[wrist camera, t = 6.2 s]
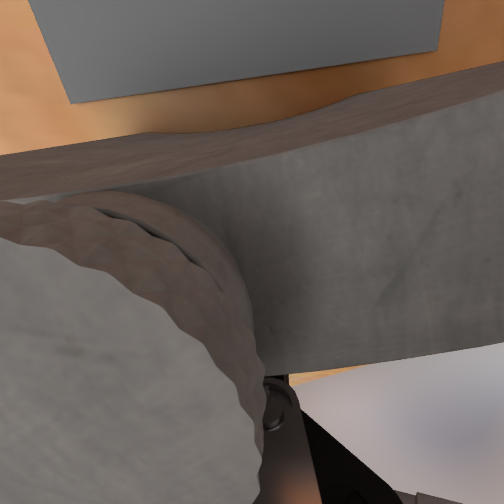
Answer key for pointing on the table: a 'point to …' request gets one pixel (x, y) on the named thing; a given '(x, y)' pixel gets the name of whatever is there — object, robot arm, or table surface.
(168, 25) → the mat
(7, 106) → the table surface
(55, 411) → the hip flask
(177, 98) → the table surface
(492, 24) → the table surface
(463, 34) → the table surface
